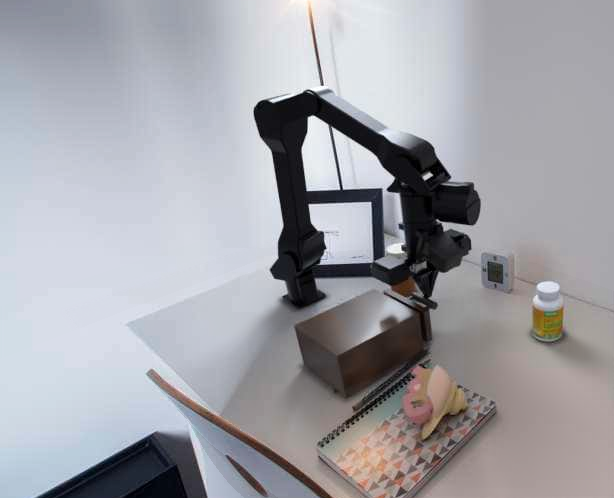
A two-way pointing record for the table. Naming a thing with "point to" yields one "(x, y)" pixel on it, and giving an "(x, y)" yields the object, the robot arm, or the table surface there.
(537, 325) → the supplement bottle
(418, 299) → the drawer
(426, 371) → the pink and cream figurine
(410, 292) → the pill bottle
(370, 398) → the table surface
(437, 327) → the table surface
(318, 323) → the cabinet
